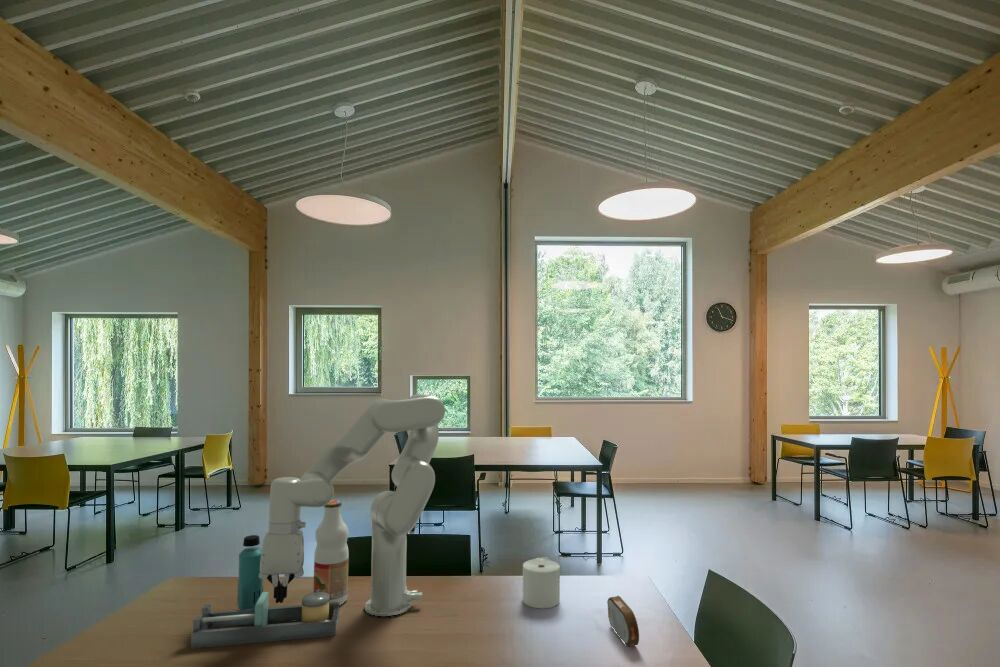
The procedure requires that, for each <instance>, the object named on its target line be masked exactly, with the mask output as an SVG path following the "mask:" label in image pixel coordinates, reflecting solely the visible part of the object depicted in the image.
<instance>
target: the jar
mask: <svg viewBox="0 0 1000 667" xmlns="http://www.w3.org/2000/svg"><path fill="white" fill-rule="evenodd" d="M329 599H330V595H329V594H328V593H325V592H310V593H307V594H305V595H303V596H302V598H301V605H302V620H301V622H307V621H319V620H330V618H329Z"/></svg>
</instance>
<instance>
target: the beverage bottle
mask: <svg viewBox="0 0 1000 667" xmlns="http://www.w3.org/2000/svg"><path fill="white" fill-rule="evenodd" d="M260 542H261V541H260V536H259V535H257V534H256V535H255V534H251V535H248V536H245V537H244V538H243V544H242V545H243V547H245V548H244V549H243V550H241V551H240V553H239V554H238V579H237V604H236V605H237V608H238V610H243V609H255V605H256V603H257V601H258V599H259V598H260V596H261V594H262V592H264V579H261V578H259V573H260V561H261V553H262V548H261V547H259V545H260Z"/></svg>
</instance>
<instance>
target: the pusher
mask: <svg viewBox="0 0 1000 667" xmlns="http://www.w3.org/2000/svg"><path fill="white" fill-rule="evenodd" d="M269 594H270V592H269V591H263V592H262V594H261V596H260V598H259V599H258V601H257V603H256V605H255V614H245V615H232V616H220V617H207V618H203V622H213V621H225V620H237V619H250V618H255V624H253V626H259V625H268V624H269V623H268V607H269V602H270V601H269V597H270V595H269Z"/></svg>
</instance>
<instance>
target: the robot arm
mask: <svg viewBox="0 0 1000 667" xmlns="http://www.w3.org/2000/svg"><path fill="white" fill-rule="evenodd" d="M445 414H446V408H445V404H444V403H443V401H442V400H441V399H440V398H438V397H437V396H433V395H428V394H427V395H426V394H422V393H421V394H420V393H417V394H412V395H411V396H409V397H408V398H407V399H398V400H397V399H395V400H391V399H387V398H380V399H376V400H374V401H373V402H371V404H370V405H369V406H368V407H366V409H365V410H364V411H363V412H362V413H361V414H360V416H359V417H358V418H357V419H356V420H355V422H353V423H352V425H350V427H349V428H348V429H347V431H346V432H345V433H344V434H343V435H342V436H341V437H340V438H339V439H337V441H335V442H334V443H333V444H331V446H330V447H329V448H327V449H326V450H325V451H324V452H323V453H321V454H320V456H318V457H317V458H316V460H315V461H314V462H313V463H312V464H311V465H310V466H309V467H308V469H307V470H306V471H305V472H304V473H303V475H301V477H300V478H298V477H295V476H282V477H278V478H275V479H273V480H272V482H271V484H270V492H269V506H268V507H269V511H268V512H269V513H268V529H267V531H266V532H265V535H264V536H263V541H262V542H263V543H262V547H261V549H262V553H261V561H260V573H259V578H261V579H263V580H267V581H268V582H270V584H271V585H272V587H273V599H275V604H278V603H280V604H282V603H284V600H285V599H287V596H288V585H289V584H290V582H292V581H293V580H294V579H297V578H301V577H303V576H304V573H305V571H304V567H303V566H304V563H305V561H304V560H305V540H304V532H303V530H301V529H305V528H306V524H307V523H306V522H305V521H302V520H301V508H302V507H303V508H304V507H305V508H321V507H322V508H323V507H324V506H325V505H327V504H328V503H329V502H330V501H331V500H333V498H334V495H335V488H334V486H333V484H332V482H333V481H334V480H335V478H336V477H337V476H338V475H339V474H340V473H341V472H342V471H343V470H344V469H345V468H348V466H350V465H352V464H354V463H357V462H360V461H362V460H363V459H365V458H366V457H367V456H368V455H369V454H370V452H371V451H372V450H373V448H374V447H375V446H376V445H377V444H378V443H379V442H380V440H382V439H383V437H384V436H385V434H387V433H397V432H398V433H399V432H409V435H408V436H407V437H408V438H407V440H406V443H405V444H404V447H403V449H402V451H401V452H400V455H399V456H398V458H397V460H396V462H395V464H394V466H393V468H392V471H391V480H392V483H393V484H394V485H395V486H396V487H397V488H396V489H395V490H394V491H393V490H385V491H382V492H380V493H378V494H377V495H376V496H375V497H374V499H373V500H372V502H371V506H370V509H369V510H370V512H369V514H370V525H371V526H370V528H371V564H370V565H371V568H370V569H371V572H370V574H371V575H370V577H371V578H370V580H371V581H370V585H371V586H370V599H368V600H367V601H366V602H365V604H364V610H365V612H366V613H367V614H368V613H369V614H368V615H370V614H371V615H370V616H373V615H375V616H374V617H377V616H391V615H397V614H400V613H403V612H405V611H406V612H408V611H409V610H410V609H411V607H412V601H423V592H418V589H415V590H409V589H408V586H407V548H408V547H407V545H408V544H407V542H408V540H407V538H408V537H407V534H408V533H410V532H411V531H412V530H413V529H414V527H416V525H417V523H418V521H419V520H420V517H421V516H422V514H423V512H424V509H425V507H426V505H427V503H428V501H429V499H430V497H431V495H432V492H433V490H434V488H435V484H436V474H435V470H434V469H433V467H432V465H431V464H430V462H431V459H433V458H432V457H433V455H434V454H435V451H436V448H437V447H438V444H439V443H438V442H439V437H440V433H439V432H440V431H439V424H440V423H441V422H442V421H443V419H444V418H445ZM280 575H284V576H283V580H282V582H281V580H280ZM409 608H410V609H409ZM408 609H409V610H408ZM407 610H408V611H407ZM406 612H405V613H406ZM403 614H404V613H403ZM400 615H401V614H400ZM397 616H398V615H397ZM391 617H392V616H391Z"/></svg>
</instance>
